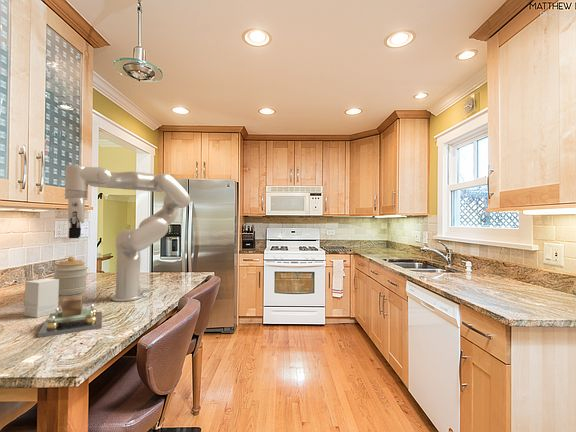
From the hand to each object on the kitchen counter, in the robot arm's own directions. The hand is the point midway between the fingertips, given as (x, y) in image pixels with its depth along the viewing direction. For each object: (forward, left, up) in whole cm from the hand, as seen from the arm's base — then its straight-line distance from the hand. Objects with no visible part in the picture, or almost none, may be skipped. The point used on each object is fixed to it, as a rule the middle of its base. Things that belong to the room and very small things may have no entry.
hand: (74, 237), depth 117 cm
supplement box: (+9, +4, -29) cm, 30 cm away
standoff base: (-2, +24, -28) cm, 37 cm away
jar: (+3, -31, -28) cm, 42 cm away
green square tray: (-2, +24, -25) cm, 35 cm away
